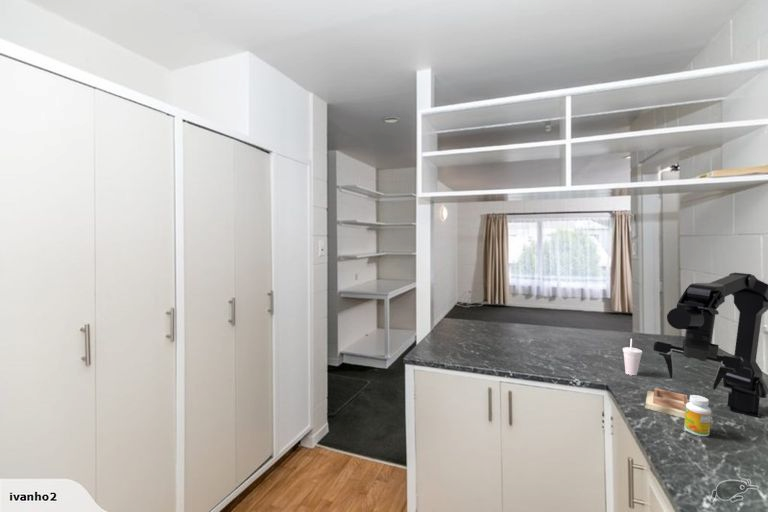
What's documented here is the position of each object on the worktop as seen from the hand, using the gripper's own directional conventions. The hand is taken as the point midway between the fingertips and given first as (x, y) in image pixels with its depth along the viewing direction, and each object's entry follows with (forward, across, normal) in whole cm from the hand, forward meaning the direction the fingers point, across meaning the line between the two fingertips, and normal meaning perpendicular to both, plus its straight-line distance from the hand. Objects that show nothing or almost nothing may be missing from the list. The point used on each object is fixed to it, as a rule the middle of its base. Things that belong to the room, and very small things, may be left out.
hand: (692, 383), depth 101 cm
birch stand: (+12, -5, +13) cm, 18 cm away
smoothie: (+11, -19, +36) cm, 42 cm away
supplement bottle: (+13, +2, 0) cm, 13 cm away
